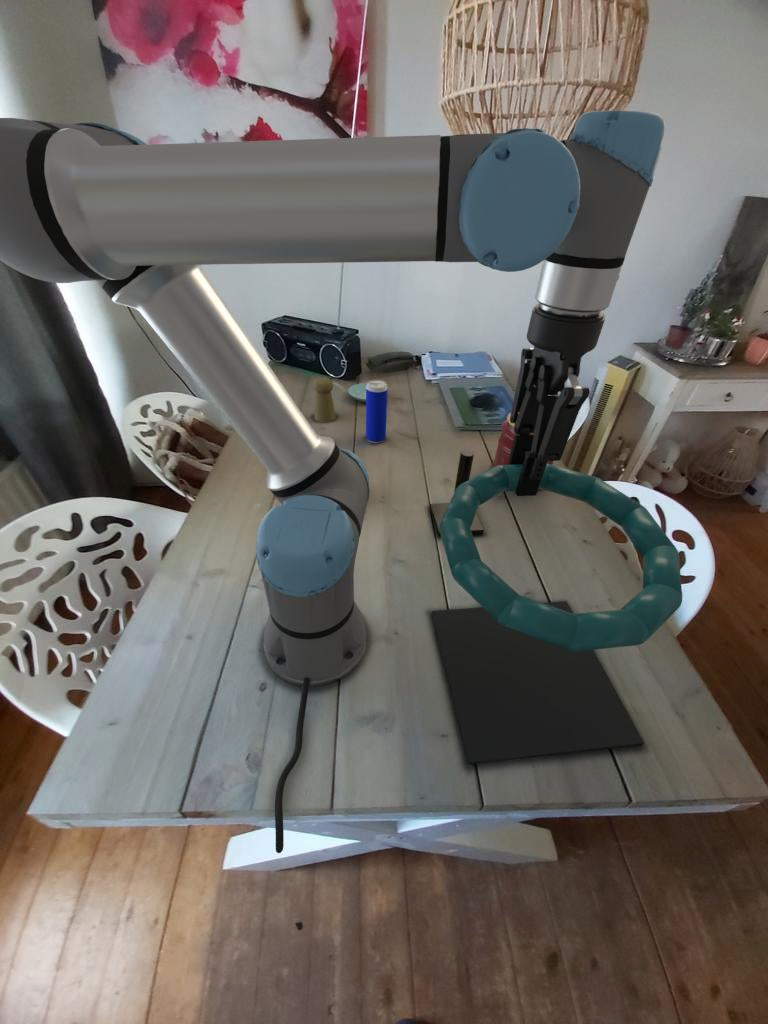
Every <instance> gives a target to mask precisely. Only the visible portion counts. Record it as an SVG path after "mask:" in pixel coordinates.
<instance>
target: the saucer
mask: <svg viewBox="0 0 768 1024" xmlns="http://www.w3.org/2000/svg"><path fill="white" fill-rule="evenodd" d="M367 384H368V382H361V383H355V384H354V385H351V386H349V388H348V389H347V392H348V394H349V395H350V396H351V397H352V398H353V399H355V400H356V401H359V402H362V403H366V386H367Z"/></svg>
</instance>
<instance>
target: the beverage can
mask: <svg viewBox="0 0 768 1024" xmlns="http://www.w3.org/2000/svg"><path fill="white" fill-rule="evenodd" d="M367 383H368V384H367V386H366V402H365V439H366V440H367V441H368V442H369V443H371V444H381V443H383V442H384V441H385V440H386V438H387V414H388V391H389V389H388V384H387V382H386V381H383V380H381V379H372V380H370V381H368V382H367Z"/></svg>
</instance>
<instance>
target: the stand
mask: <svg viewBox="0 0 768 1024" xmlns="http://www.w3.org/2000/svg"><path fill="white" fill-rule="evenodd" d="M474 457H475V452H474V451H473V450H471V449H462V450H461V451H460V454H459V461H458V467H457V473H456V479H455V484H454V492H455V490H456V488H457V487H458V486H459V485H461V484H462V483H464V482H466V481H468V480H470V479H471V473H472V467H473V461H474ZM454 492H453V493H454ZM449 503H450V502H444V503H442V502H441V503H440V502H439V503H429V510H430V514H431V517H432V520H433V524H434V527H435V530H436V533H437V537H439V538H441V534H440V530H439V526H440V522H441V520H442V518H443V516H444V514H445V512H446V509H447V507H448V505H449ZM470 530H471V532H472V535H473V536H477V535H478V536H479V535H484V531H485V529H484V527H483V524H482V523H481V520H480V518H479V515H478V512H476V515H475V517H474V520H473V523H472V525H471V528H470Z"/></svg>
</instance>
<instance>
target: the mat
mask: <svg viewBox="0 0 768 1024" xmlns="http://www.w3.org/2000/svg"><path fill="white" fill-rule="evenodd" d="M543 603H544V604H547V605H550V606H552V607H555V608H558V609H561V610H564V611H566V612H569V613H572V614H574V613H573V610H572V608H571V607H570V605H569V603H568V601H567V600H564V601H550V602H543ZM431 617H432V622H433V625H434V629H435V633H436V634H435V635H436V637H437V641H438V646H439V651H440V654H441V658H442V659H441V660H442V662H443V667H444V670H445V674H446V678H447V684H448V686H449V691H450V695H451V699H452V704H453V707H454V712H455V715H456V720H457V724H458V728H459V732H460V736H461V740H462V745H463V748H464V749H463V750H464V753H465V757H466V760H467V764H468V765H475V764H476V765H478V764H487V763H494V762H502V761H503V762H505V761H512V760H513V761H514V760H522V759H531V758H540V757H541V758H542V757H548V756H558V755H567V754H577V753H585V752H593V751H601V750H602V751H604V750H611V749H619V748H621V749H622V748H629V747H638V746H643V745H644V744H645V742H644V740H643V738H642V736H641V734H640V733H639V731H638V729H637V727H636V725H635V723H634V722H633V719H632V718H631V716H630V714H629V712H628V710H627V709H626V707H625V705H624V704H623V702H622V700H621V698H620V696H619V694H618V693H617V691H616V688H615V687H614V685H613V683H612V682H611V679H610V678H609V676H608V674H607V673H606V671H605V669H604V667H603V665H602V663H601V662H600V660H599V658H598V656H597V654H596V653H595V650H584V651H569V650H566V649H563V648H561V647H558V646H555V645H553V644H550V643H547V642H545V641H542V640H539V639H537V638H534V637H531V636H529V635H526V634H523V633H521V632H518V631H515V630H513V629H510V628H507V627H505V626H503V625H501V624H500V623H498V622H497V621H496V620H495V619H494V618H493V617H492V616H491V615H490V614H489V613H488V612H487V611H486V610H485V609H484V608H483V607H482V606H480V607H467V608H454V609H442V610H441V609H439V610H431Z"/></svg>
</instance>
